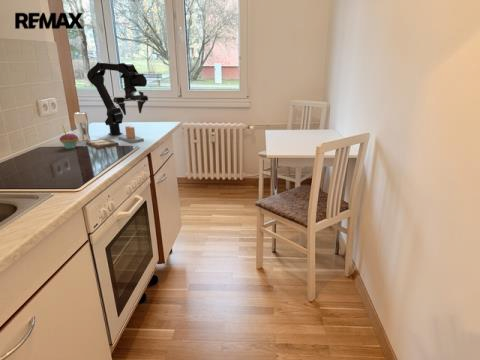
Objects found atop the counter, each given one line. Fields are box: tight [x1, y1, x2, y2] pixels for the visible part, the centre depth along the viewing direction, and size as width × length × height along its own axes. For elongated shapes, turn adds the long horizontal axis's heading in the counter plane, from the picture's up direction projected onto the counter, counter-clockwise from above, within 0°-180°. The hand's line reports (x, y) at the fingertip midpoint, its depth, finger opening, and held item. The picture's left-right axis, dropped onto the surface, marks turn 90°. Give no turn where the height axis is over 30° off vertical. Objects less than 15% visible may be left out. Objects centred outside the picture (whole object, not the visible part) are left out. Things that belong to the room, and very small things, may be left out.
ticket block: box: [85, 138, 120, 150], centre depth 176 cm, size 16×11×2 cm
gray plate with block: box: [117, 125, 145, 144], centre depth 186 cm, size 16×7×8 cm, turn 43°
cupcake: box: [59, 124, 79, 150], centre depth 169 cm, size 9×8×12 cm
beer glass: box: [73, 112, 91, 142], centre depth 186 cm, size 7×7×15 cm
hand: (132, 114), depth 192 cm, fingers open, 9 cm apart
